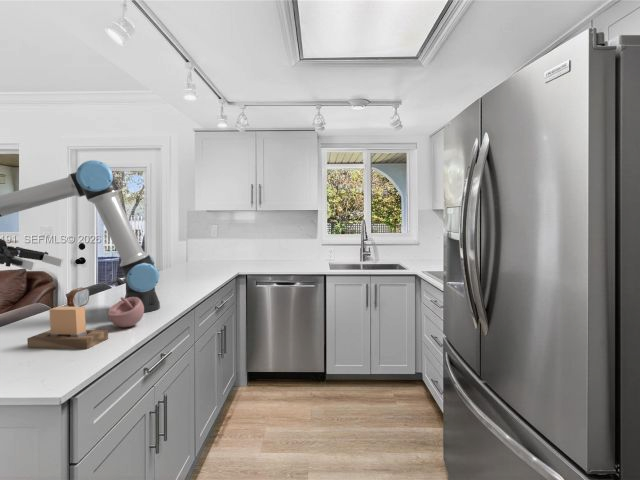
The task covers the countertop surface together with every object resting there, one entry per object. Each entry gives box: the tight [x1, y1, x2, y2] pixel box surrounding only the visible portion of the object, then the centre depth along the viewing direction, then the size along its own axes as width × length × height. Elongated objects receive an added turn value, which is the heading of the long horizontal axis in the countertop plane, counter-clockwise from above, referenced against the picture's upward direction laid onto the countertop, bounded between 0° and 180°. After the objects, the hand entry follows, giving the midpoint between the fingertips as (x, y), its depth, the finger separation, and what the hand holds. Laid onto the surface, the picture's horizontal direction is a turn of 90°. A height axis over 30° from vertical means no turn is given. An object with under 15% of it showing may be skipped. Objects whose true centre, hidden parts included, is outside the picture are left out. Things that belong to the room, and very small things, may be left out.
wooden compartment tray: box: [26, 329, 109, 350], centre depth 125 cm, size 10×20×3 cm, turn 84°
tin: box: [66, 287, 90, 307], centre depth 178 cm, size 15×3×8 cm, turn 5°
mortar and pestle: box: [107, 296, 145, 328], centre depth 143 cm, size 12×12×12 cm
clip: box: [49, 306, 87, 337], centre depth 124 cm, size 4×10×12 cm, turn 84°
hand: (48, 264), depth 130 cm, fingers open, 13 cm apart
